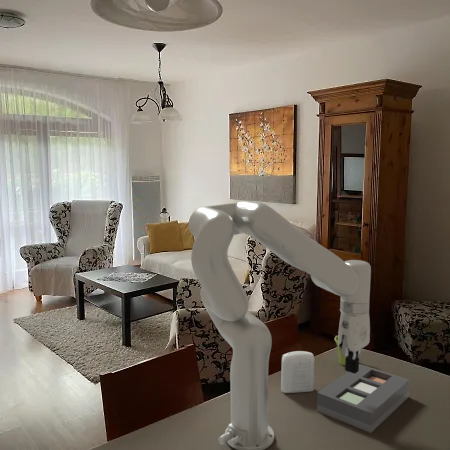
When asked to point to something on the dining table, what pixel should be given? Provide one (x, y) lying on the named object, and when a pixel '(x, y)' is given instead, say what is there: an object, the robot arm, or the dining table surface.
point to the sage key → (351, 398)
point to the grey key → (365, 387)
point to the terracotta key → (377, 379)
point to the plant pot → (341, 357)
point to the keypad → (371, 404)
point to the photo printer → (297, 372)
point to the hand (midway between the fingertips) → (351, 371)
